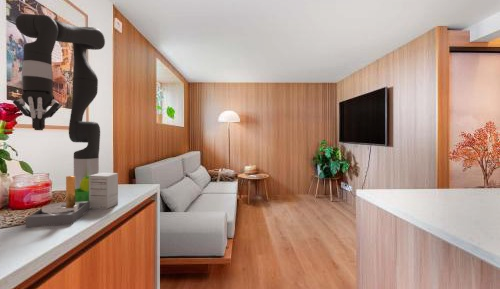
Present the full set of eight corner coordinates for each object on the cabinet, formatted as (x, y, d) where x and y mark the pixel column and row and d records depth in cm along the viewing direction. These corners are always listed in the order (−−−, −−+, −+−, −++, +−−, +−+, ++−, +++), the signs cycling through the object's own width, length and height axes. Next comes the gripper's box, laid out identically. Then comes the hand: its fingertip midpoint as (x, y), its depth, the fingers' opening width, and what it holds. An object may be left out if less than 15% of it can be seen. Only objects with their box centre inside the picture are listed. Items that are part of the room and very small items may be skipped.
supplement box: (100, 203, 100) (100, 172, 99) (118, 203, 99) (118, 172, 99) (88, 208, 92) (88, 175, 92) (107, 209, 92) (107, 175, 92)
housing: (51, 211, 88) (51, 197, 88) (89, 208, 92) (89, 195, 92) (25, 227, 73) (25, 210, 73) (72, 224, 76) (72, 208, 76)
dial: (33, 214, 79) (33, 177, 78) (64, 206, 88) (64, 172, 88) (58, 218, 76) (58, 179, 76) (87, 209, 86) (87, 174, 85)
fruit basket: (103, 197, 108) (103, 172, 107) (103, 202, 100) (103, 175, 100) (71, 201, 102) (71, 174, 101) (69, 206, 94) (69, 177, 94)
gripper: (66, 81, 86) (66, 131, 87) (20, 78, 82) (20, 129, 83) (56, 76, 79) (57, 130, 79) (5, 72, 75) (6, 129, 76)
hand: (38, 130), depth 81 cm, fingers closed
